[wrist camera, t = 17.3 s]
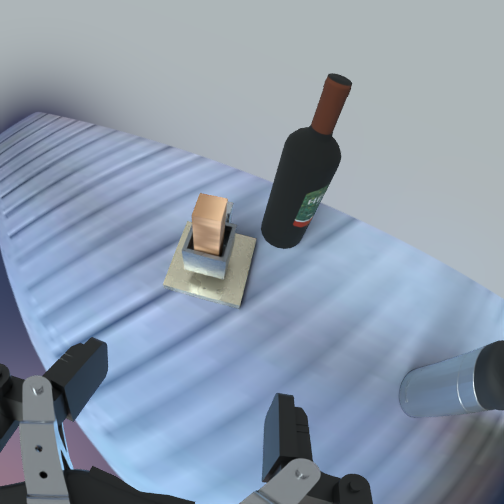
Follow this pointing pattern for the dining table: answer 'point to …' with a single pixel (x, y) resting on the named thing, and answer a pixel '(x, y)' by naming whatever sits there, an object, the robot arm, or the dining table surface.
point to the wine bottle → (305, 169)
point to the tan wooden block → (209, 224)
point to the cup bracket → (212, 266)
